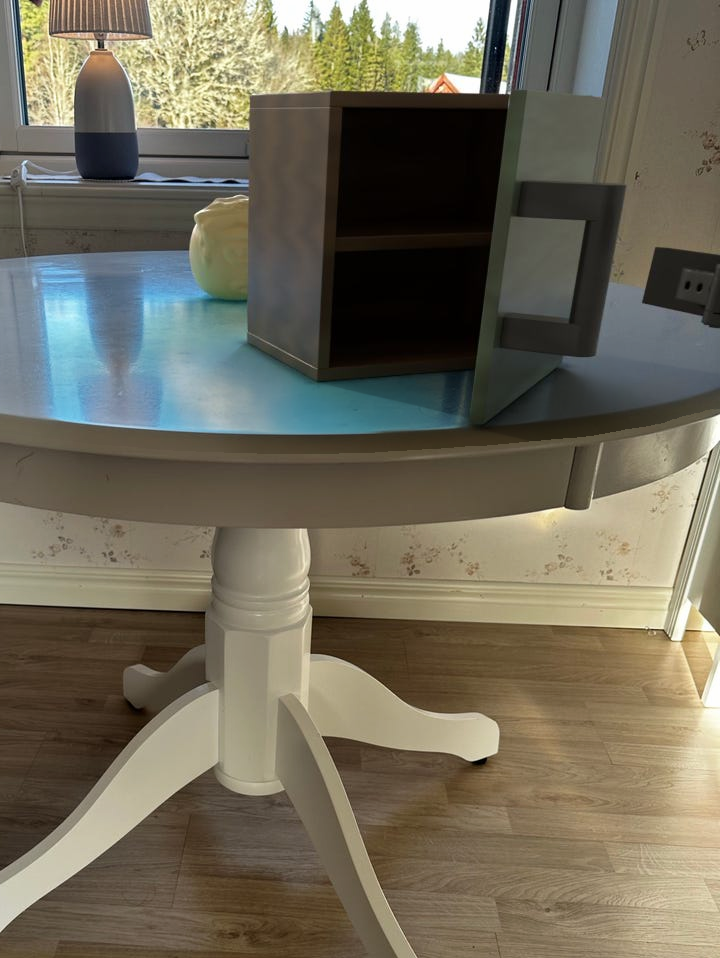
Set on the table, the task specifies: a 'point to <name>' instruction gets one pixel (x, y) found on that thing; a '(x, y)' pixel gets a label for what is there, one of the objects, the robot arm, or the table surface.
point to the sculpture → (221, 248)
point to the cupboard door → (545, 247)
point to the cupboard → (371, 228)
